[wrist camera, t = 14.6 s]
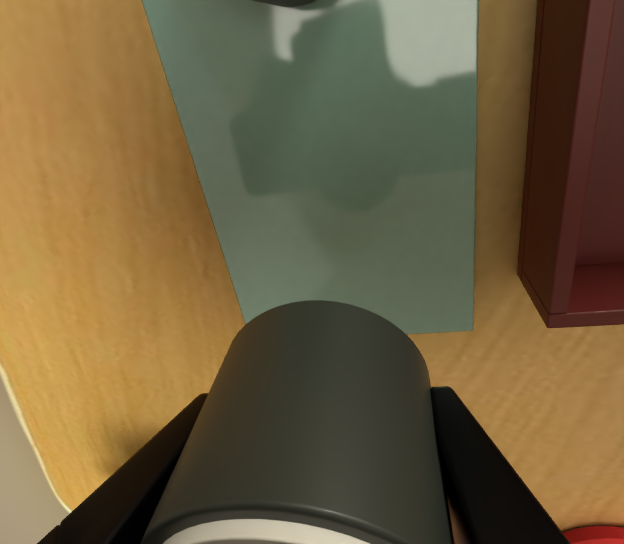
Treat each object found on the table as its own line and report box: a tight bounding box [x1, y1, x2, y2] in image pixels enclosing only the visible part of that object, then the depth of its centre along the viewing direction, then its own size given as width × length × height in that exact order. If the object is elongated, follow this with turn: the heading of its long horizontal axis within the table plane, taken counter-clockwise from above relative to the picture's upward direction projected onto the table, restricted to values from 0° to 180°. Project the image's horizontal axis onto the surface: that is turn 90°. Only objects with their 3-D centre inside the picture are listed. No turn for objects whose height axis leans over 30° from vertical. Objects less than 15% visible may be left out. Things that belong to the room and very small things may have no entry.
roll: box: [140, 300, 455, 544], centre depth 7 cm, size 5×5×5 cm
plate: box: [142, 0, 479, 334], centre depth 14 cm, size 20×10×1 cm, turn 10°
